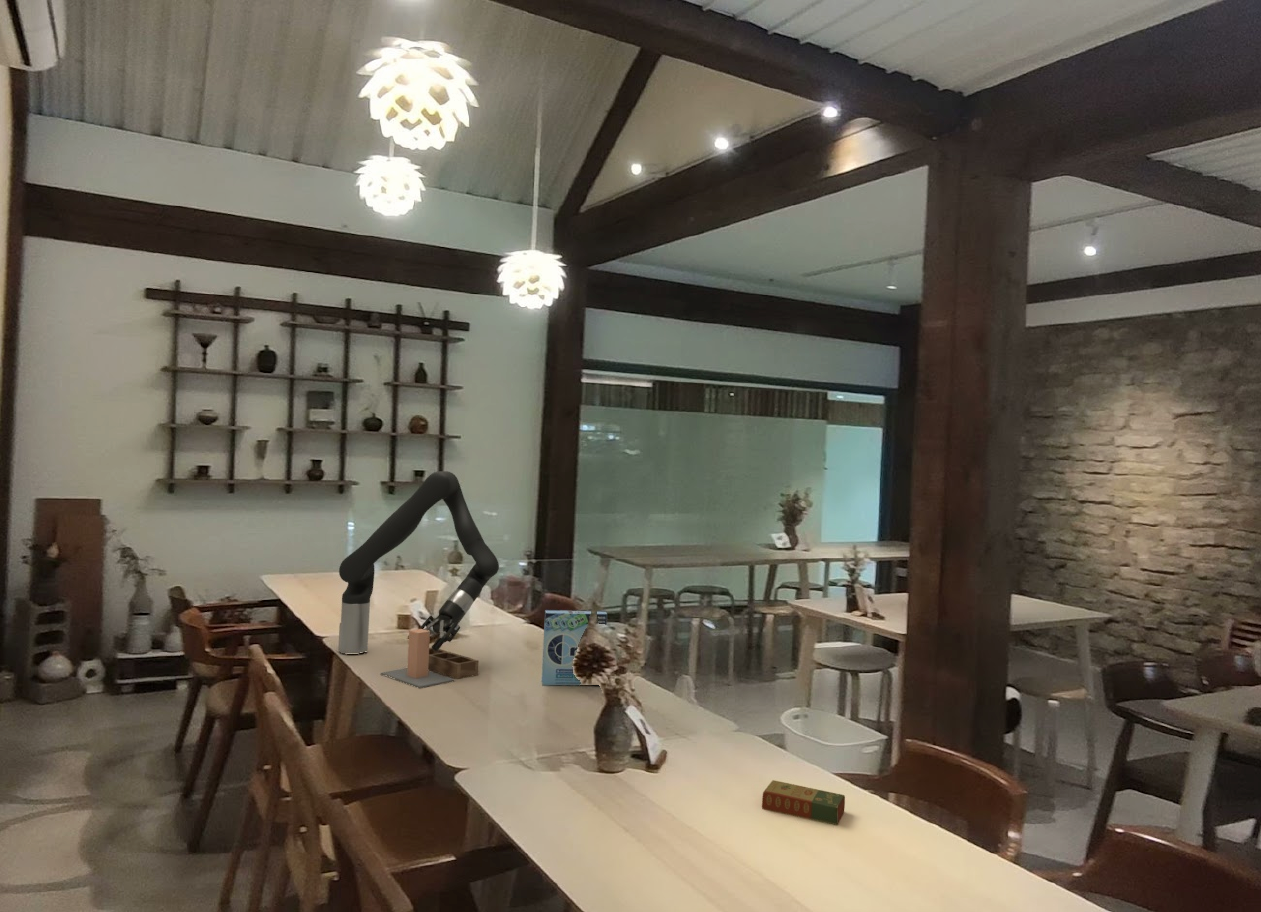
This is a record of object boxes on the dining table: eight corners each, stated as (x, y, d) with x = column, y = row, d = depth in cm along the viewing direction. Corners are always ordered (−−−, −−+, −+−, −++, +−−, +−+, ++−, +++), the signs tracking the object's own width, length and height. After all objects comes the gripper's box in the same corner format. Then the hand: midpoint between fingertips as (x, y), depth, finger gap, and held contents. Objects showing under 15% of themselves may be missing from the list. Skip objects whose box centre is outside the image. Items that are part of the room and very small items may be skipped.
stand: (412, 664, 297) (413, 650, 297) (433, 660, 303) (434, 647, 303) (457, 678, 282) (457, 664, 282) (477, 674, 288) (478, 660, 288)
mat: (380, 674, 282) (380, 672, 282) (415, 668, 292) (415, 666, 292) (419, 688, 269) (419, 686, 269) (454, 681, 279) (454, 679, 279)
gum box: (602, 682, 287) (606, 610, 287) (604, 687, 282) (608, 613, 281) (541, 681, 284) (544, 609, 284) (541, 686, 279) (545, 612, 279)
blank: (406, 675, 280) (409, 630, 280) (418, 673, 284) (421, 628, 284) (415, 678, 277) (418, 633, 277) (427, 676, 281) (430, 631, 281)
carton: (771, 797, 200) (772, 778, 200) (844, 813, 193) (846, 793, 193) (761, 810, 192) (762, 790, 192) (837, 827, 186) (838, 806, 186)
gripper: (436, 596, 293) (404, 635, 285) (464, 602, 284) (432, 644, 276) (448, 610, 297) (418, 650, 289) (476, 617, 288) (445, 658, 280)
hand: (425, 647), depth 282 cm, fingers open, 8 cm apart
